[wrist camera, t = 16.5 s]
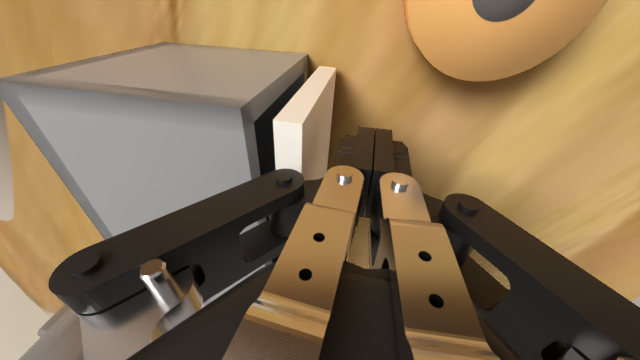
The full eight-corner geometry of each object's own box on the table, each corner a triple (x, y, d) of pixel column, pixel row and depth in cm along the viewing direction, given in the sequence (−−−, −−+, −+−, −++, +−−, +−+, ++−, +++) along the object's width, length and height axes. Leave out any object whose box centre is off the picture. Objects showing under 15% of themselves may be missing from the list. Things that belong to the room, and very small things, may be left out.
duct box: (211, 204, 24) (141, 291, 17) (162, 42, 16) (-11, 80, 9) (306, 220, 23) (273, 320, 16) (307, 53, 15) (240, 108, 8)
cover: (323, 232, 24) (301, 327, 17) (309, 230, 24) (281, 322, 17) (340, 66, 15) (308, 125, 8) (317, 63, 15) (267, 119, 8)
